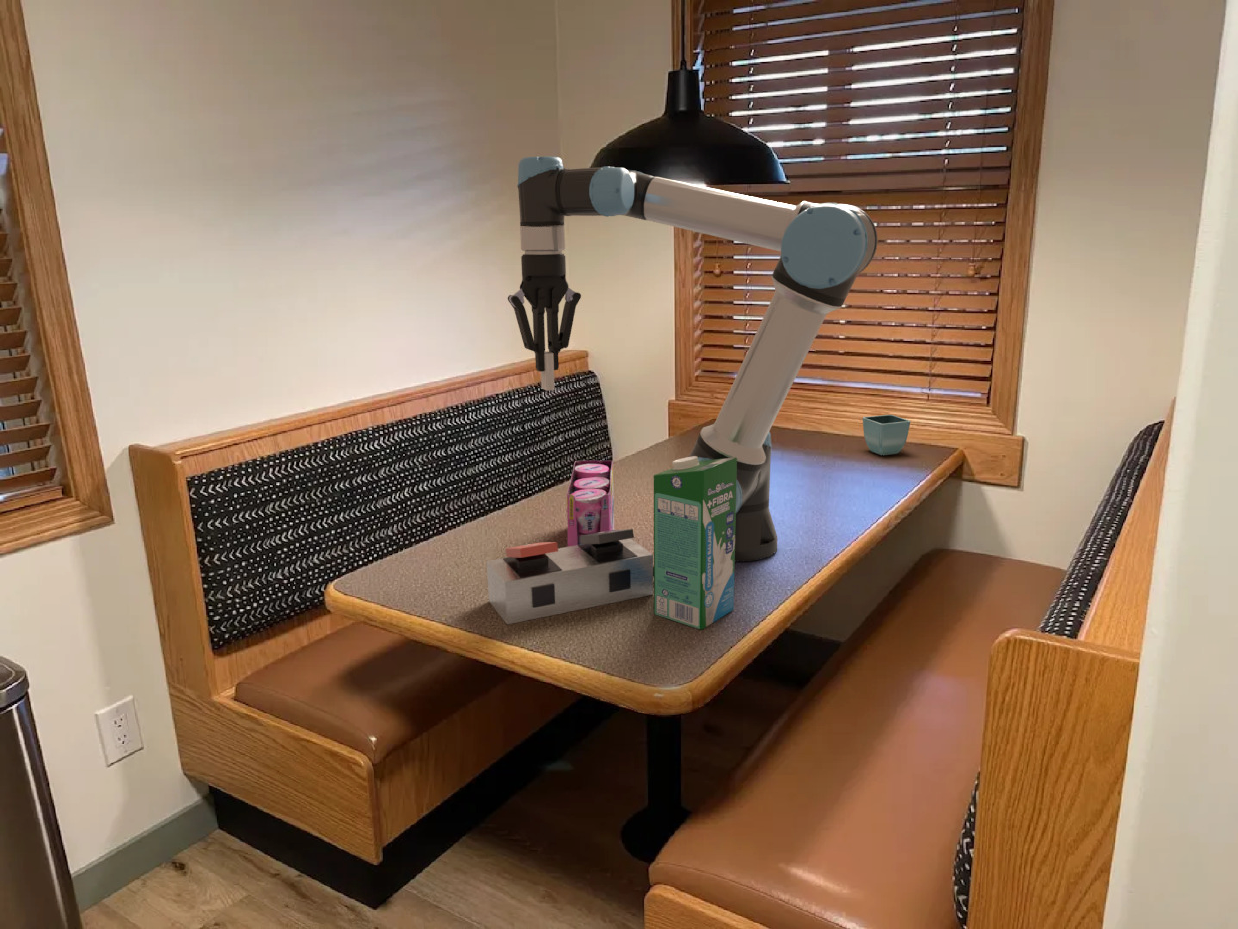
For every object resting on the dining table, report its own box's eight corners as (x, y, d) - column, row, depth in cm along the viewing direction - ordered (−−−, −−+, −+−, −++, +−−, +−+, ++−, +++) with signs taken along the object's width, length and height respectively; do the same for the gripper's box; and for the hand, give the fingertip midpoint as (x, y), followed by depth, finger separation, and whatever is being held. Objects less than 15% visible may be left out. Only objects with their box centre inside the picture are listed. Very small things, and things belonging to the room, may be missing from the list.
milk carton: (686, 595, 147) (688, 447, 140) (734, 610, 141) (737, 456, 134) (653, 614, 140) (652, 459, 133) (701, 630, 135) (703, 469, 128)
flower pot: (859, 450, 234) (861, 416, 231) (888, 447, 236) (891, 414, 234) (878, 458, 225) (881, 423, 223) (908, 455, 228) (911, 421, 226)
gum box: (611, 570, 158) (610, 496, 154) (566, 570, 158) (564, 497, 154) (614, 524, 181) (613, 459, 177) (575, 525, 181) (573, 460, 177)
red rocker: (541, 550, 146) (540, 541, 146) (558, 551, 139) (556, 541, 139) (506, 557, 144) (505, 547, 144) (521, 557, 136) (519, 548, 137)
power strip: (664, 567, 159) (664, 523, 156) (691, 587, 150) (691, 541, 148) (488, 601, 146) (486, 554, 143) (507, 625, 137) (505, 575, 135)
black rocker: (614, 538, 151) (613, 529, 151) (634, 537, 144) (632, 528, 144) (581, 544, 149) (580, 535, 149) (599, 543, 142) (598, 534, 142)
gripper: (570, 250, 159) (574, 382, 165) (499, 252, 154) (506, 388, 160) (586, 252, 153) (590, 389, 159) (513, 254, 147) (519, 396, 154)
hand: (548, 388), depth 160 cm, fingers closed
